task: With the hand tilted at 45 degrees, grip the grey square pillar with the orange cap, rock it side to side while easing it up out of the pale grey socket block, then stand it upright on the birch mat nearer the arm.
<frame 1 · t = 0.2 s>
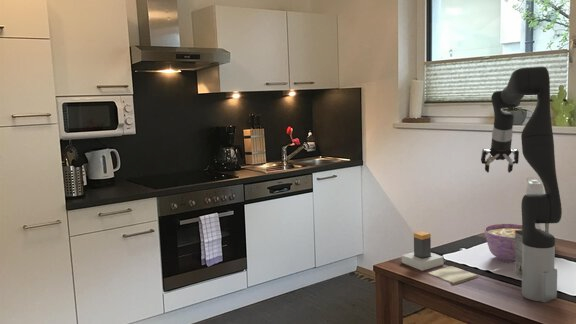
hand: (498, 171, 213), 31 cm above the table, tool tilted 20°, fingers open, 8 cm apart
mat: (452, 275, 183), on the table
header: (422, 264, 196), on the table
bowl of food: (511, 259, 197), on the table
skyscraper: (534, 241, 218), on the table
grey square pillar: (422, 263, 196), resting on header
coffee box: (531, 276, 180), on the table
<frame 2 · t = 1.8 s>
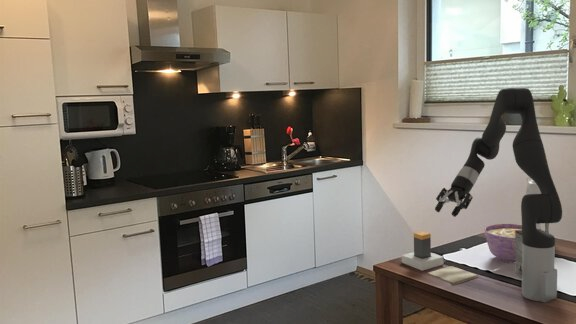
hand: (444, 213, 199), 18 cm above the table, tool tilted 45°, fingers open, 8 cm apart
nothing on the table moved.
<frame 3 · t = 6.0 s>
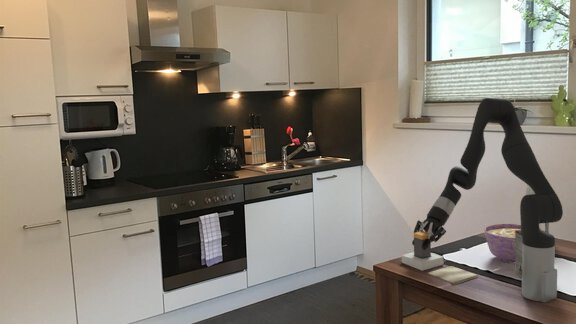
hand: (418, 246, 194), 8 cm above the table, tool tilted 45°, fingers closed on grey square pillar, 4 cm apart
grey square pillar: (422, 263, 196), point 1 cm above the table, touching gripper, header
everything else where it was.
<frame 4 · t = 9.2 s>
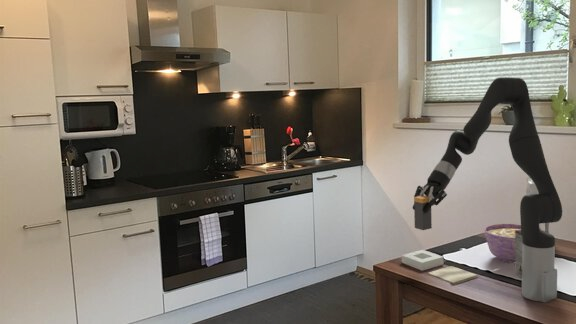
hand: (419, 210, 191), 22 cm above the table, tool tilted 45°, fingers closed on grey square pillar, 4 cm apart
grey square pillar: (423, 228, 193), point 15 cm above the table, touching gripper
everything else where it was.
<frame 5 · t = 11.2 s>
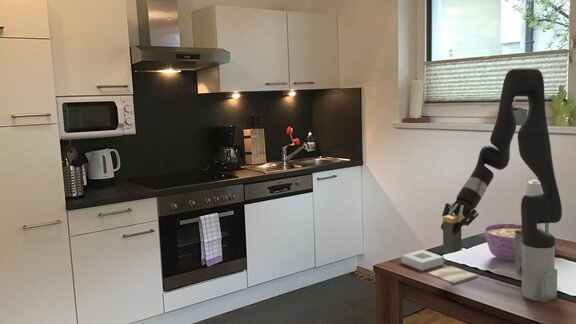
hand: (448, 230, 180), 17 cm above the table, tool tilted 45°, fingers closed on grey square pillar, 4 cm apart
grey square pillar: (452, 249, 182), point 10 cm above the table, touching gripper
everything else where it was.
when the fingers open (9 cm above the table, at t = 12.9 s): grey square pillar drops 1 cm, resting on mat.
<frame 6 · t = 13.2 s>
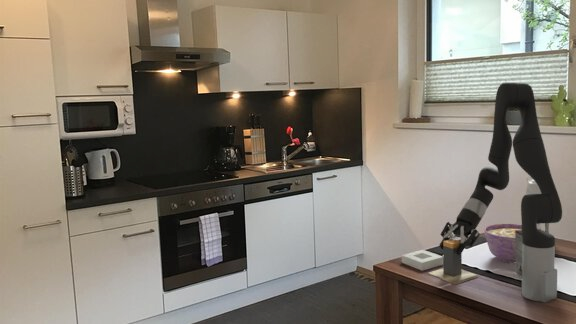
hand: (449, 250, 181), 10 cm above the table, tool tilted 45°, fingers open, 6 cm apart
grey square pillar: (452, 273, 183), point 1 cm above the table, touching mat
everything else where it was.
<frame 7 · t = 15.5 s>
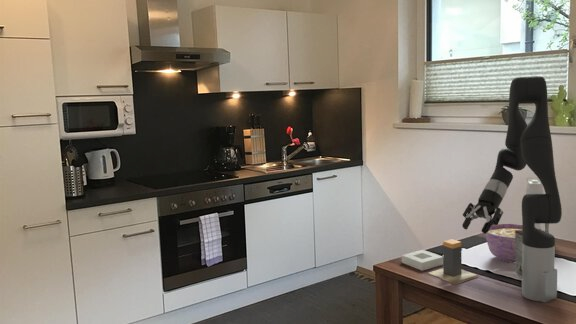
hand: (473, 230, 186), 15 cm above the table, tool tilted 45°, fingers open, 8 cm apart
nothing on the table moved.
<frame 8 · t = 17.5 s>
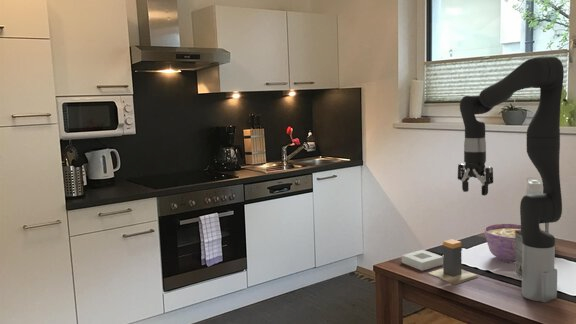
hand: (474, 193, 187), 28 cm above the table, tool pointing down, fingers open, 8 cm apart
nothing on the table moved.
at the end: grey square pillar inside the target area on the mat (0.1 cm from its centre), point 0.8 cm above the mat's base; grey square pillar tilted 0°; the gripper is holding nothing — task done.
